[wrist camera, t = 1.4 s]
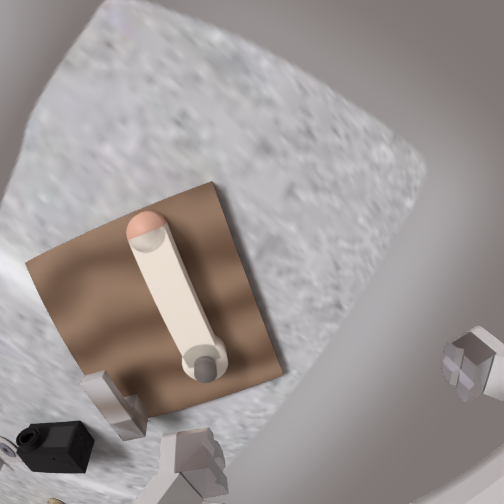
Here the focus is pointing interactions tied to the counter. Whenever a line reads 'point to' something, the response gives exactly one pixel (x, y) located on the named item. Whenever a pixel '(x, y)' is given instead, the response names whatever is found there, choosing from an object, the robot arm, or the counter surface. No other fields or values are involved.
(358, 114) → the counter surface
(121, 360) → the pivot base
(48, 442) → the digital camera
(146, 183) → the counter surface
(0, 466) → the bracket
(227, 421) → the counter surface
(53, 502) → the small jar
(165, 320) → the link
